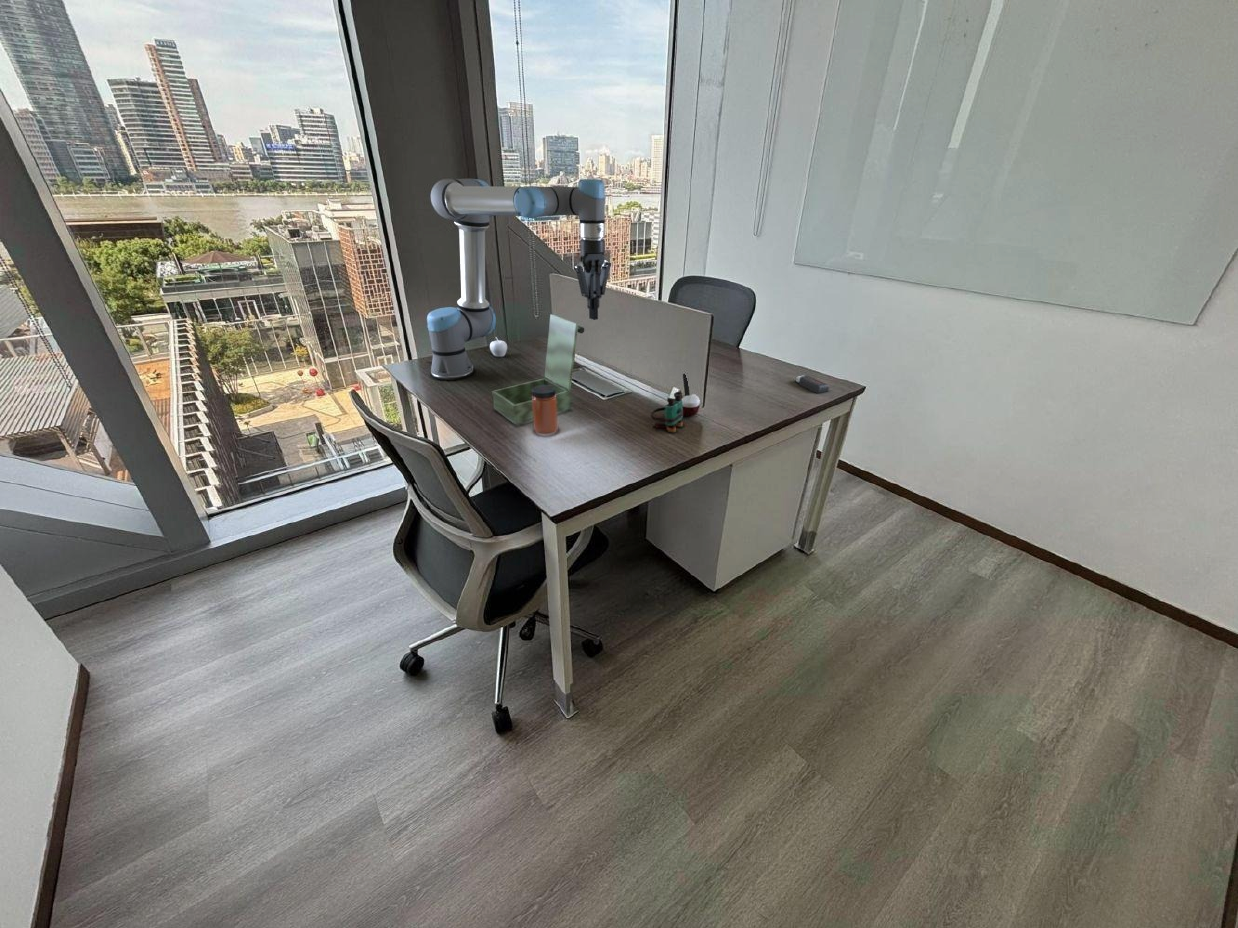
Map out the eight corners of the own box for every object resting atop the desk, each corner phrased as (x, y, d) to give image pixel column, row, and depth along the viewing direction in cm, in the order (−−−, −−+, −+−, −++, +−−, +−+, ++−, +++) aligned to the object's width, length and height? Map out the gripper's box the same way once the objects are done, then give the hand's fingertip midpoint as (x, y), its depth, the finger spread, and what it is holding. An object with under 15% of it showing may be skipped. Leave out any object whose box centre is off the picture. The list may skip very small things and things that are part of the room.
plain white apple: (493, 352, 208) (491, 334, 204) (510, 353, 208) (508, 334, 203) (488, 357, 202) (486, 338, 198) (505, 358, 202) (503, 339, 197)
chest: (516, 426, 147) (514, 406, 144) (494, 410, 157) (492, 390, 154) (570, 410, 158) (569, 391, 154) (546, 396, 168) (545, 377, 164)
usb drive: (817, 393, 174) (819, 386, 173) (793, 382, 184) (795, 375, 182) (828, 391, 176) (830, 384, 175) (804, 380, 186) (805, 373, 184)
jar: (530, 429, 146) (526, 387, 139) (550, 423, 150) (547, 382, 143) (542, 438, 141) (539, 395, 134) (562, 431, 145) (560, 389, 138)
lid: (576, 323, 146) (591, 324, 149) (550, 314, 155) (565, 314, 159) (568, 389, 154) (583, 388, 158) (544, 376, 164) (559, 376, 167)
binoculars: (658, 387, 150) (688, 391, 145) (659, 419, 155) (688, 424, 150) (644, 396, 144) (674, 401, 139) (645, 429, 149) (675, 435, 144)
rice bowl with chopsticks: (698, 420, 153) (702, 384, 147) (678, 419, 154) (681, 383, 147) (698, 408, 161) (701, 373, 155) (679, 407, 162) (682, 372, 156)
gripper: (581, 241, 140) (583, 324, 152) (617, 238, 147) (616, 318, 159) (567, 238, 145) (570, 319, 157) (602, 236, 152) (602, 313, 164)
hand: (593, 318), depth 158 cm, fingers closed
